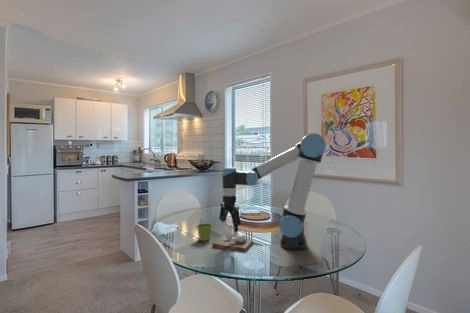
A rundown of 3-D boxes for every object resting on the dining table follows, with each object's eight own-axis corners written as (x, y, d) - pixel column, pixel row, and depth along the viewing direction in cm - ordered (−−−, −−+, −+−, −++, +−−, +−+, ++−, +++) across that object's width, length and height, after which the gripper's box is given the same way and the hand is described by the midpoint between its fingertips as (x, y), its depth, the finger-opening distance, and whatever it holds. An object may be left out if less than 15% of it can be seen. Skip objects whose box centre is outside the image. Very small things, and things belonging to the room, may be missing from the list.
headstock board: (253, 243, 159) (253, 239, 159) (244, 253, 145) (244, 248, 144) (222, 239, 166) (222, 235, 166) (210, 248, 152) (210, 244, 152)
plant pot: (198, 242, 161) (197, 228, 160) (196, 237, 170) (195, 224, 169) (213, 241, 163) (213, 227, 163) (210, 236, 172) (210, 222, 172)
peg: (241, 238, 161) (241, 220, 160) (247, 241, 156) (247, 222, 156) (221, 244, 152) (220, 224, 151) (226, 247, 147) (226, 227, 147)
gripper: (212, 193, 157) (213, 231, 158) (236, 198, 140) (236, 241, 141) (223, 191, 162) (223, 229, 162) (247, 197, 145) (247, 238, 145)
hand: (229, 234), depth 152 cm, fingers open, 9 cm apart
